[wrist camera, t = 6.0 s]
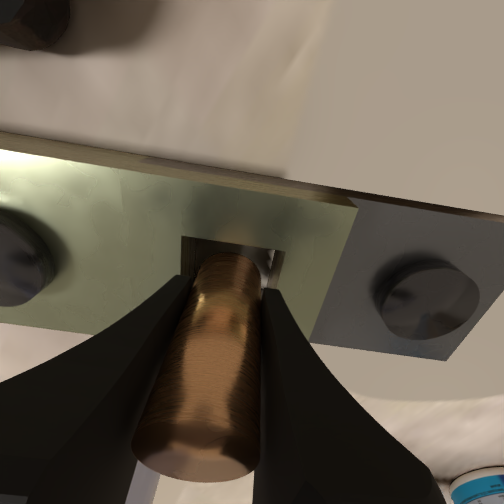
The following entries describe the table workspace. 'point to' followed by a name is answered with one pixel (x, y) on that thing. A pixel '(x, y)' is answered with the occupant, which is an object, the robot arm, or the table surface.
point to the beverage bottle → (479, 487)
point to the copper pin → (209, 381)
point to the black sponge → (32, 22)
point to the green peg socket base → (238, 232)
